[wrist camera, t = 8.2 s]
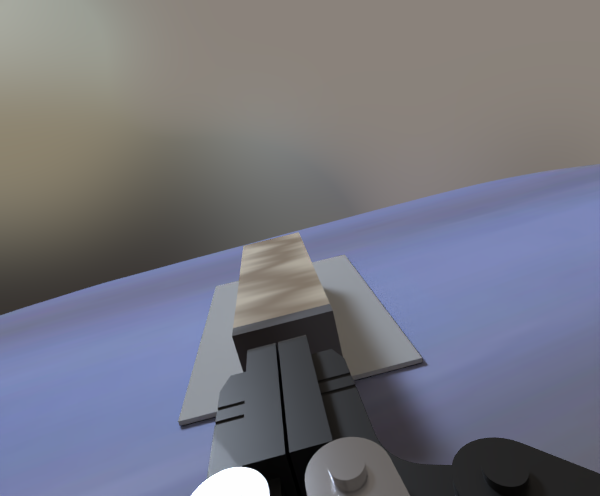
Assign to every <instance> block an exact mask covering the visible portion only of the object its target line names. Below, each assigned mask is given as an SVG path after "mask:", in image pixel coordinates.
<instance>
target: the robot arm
mask: <svg viewBox="0 0 600 496" xmlns="http://www.w3.org/2000/svg"><path fill="white" fill-rule="evenodd" d="M278 347H279V349H278ZM217 408H218V411H217V414H216V421H215V422H216V425H215V427H214V434H213V441H212V447H211V454H210V461H209V467H208V474H207V480H206V481H205V482H204V483H203V484H202V485H201V486H199V487H198V489H197V490H196V491H195V492H194V493H193V494H192V496H600V474H599V473H597V472H594V471H591V470H589V469H586V468H584V467H581V466H579V465H576V464H574V463H571V462H569V461H566V460H563V459H561V458H558V457H556V456H553V455H551V454H548V453H546V452H543V451H540V450H538V449H535V448H533V447H530V446H528V445H525V444H523V443H520V442H517V441H514V440H509V439H504V438H483V439H478V440H475V441H472V442H470V443H468V444H466V445H465V446H464V447H462V448H461V449H460V450H459V451H458V453H457V454H456V455H455V457H454V460H453V463H452V465H426V464H416V463H411V462H408V461H405V460H402V459H400V458H398V457H396V456H394V455H392V454H391V453H389V452H388V451H387V450H386V449H385V448H384V447H383V446H382V445H381V444H380V442H379V441H378V439H377V437H376V435H375V433H374V430H373V428H372V425H371V423H370V420H369V418H368V415H367V413H366V410H365V408H364V405H363V403H362V400H361V398H360V395H359V393H358V390H357V388H356V386H355V383H354V381H353V378H352V376H351V374H350V371H349V368H348V366H347V363H346V361H345V358H343V357H342V356H341V355H339V354H338V353H337V352H335V351H334V350H332V349H329V350H325V351H322V352H318V353H314V354H311V353H310V349H309V345H308V341H307V337H306V335H303V336H299V337H295V338H291V339H288V340H284V341H280V342H278V346H277V344H276V343H273V344H269V345H265V346H261V347H257V348H254V349H250V350H248V351H247V364H246V372H243V373H239V374H235V375H231V376H230V377H229V379H228V380H227V382H226V383H225V385H224V386H223V388H222V389H221V391H220V394H219V401H218V407H217Z"/></svg>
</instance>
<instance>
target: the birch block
mask: <svg viewBox="0 0 600 496" xmlns="http://www.w3.org/2000/svg"><path fill="white" fill-rule="evenodd" d="M303 335H306V337H307V341H308V345H309V349H310V353H311V354H314V353H318V352H322V351H325V350H329V349H332V350H334V351H335V352H337V353H338V354H339V355H341V356H342V357H343V355H342V350H341V346H340V341H339V336H338V332H337V327H336V323H335V318H334V313H333V310H332V307H331V305H330V303H329V301H328V298H327V296H326V294H325V292H324V289H323V287H322V285H321V282H320V280H319V278H318V276H317V273H316V271H315V269H314V266H313V264H312V262H311V260H310V257H309V255H308V253H307V251H306V248H305V246H304V244H303V241H302V239H301V237H300V235H299V233H295V234H291V235H286V236H282V237H278V238H274V239H270V240H266V241H262V242H258V243H254V244H250V245H246V246H243V254H242V262H241V269H240V277H239V285H238V293H237V300H236V308H235V316H234V324H233V332H232V338H233V341H234V345H235V348H236V351H237V354H238V357H239V361H240V364H241V367H242V370H243V372H246V364H247V351H248V350H250V349H254V348H257V347H261V346H265V345H269V344H273V343H276V344H277V346H278V342H280V341H284V340H288V339H291V338H295V337H299V336H303ZM278 349H279V347H278Z"/></svg>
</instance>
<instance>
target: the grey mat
mask: <svg viewBox="0 0 600 496" xmlns="http://www.w3.org/2000/svg"><path fill="white" fill-rule="evenodd" d="M312 264H313V266H314V269H315V271H316V273H317V276H318V278H319V280H320V282H321V285H322V287H323V289H324V292H325V294H326V296H327V298H328V301H329V303H330V305H331V307H332V310H333V313H334V318H335V323H336V327H337V332H338V336H339V341H340V346H341V350H342V355H343V358H345V361H346V363H347V366H348V368H349V371H350V374H351V376H352V378H353V380H357V379H361V378H365V377H368V376H372V375H376V374H380V373H384V372H387V371H391V370H395V369H399V368H403V367H406V366H410V365H414V364H418V363H422V362H423V361H422V357H421V356H420V355H419V353H418V352H417V351H416V349H415V348H414V347H413V345H412V344H411V343H410V341H409V340H408V339H407V337H406V336H405V335H404V333H403V332H402V331H401V329H400V328H399V327H398V325H397V324H396V323H395V321H394V320H393V319H392V317H391V316H390V315H389V313H388V312H387V311H386V309H385V308H384V307H383V305H382V304H381V303H380V301H379V300H378V299H377V297H376V296H375V295H374V293H373V292H372V291H371V289H370V288H369V287H368V285H367V284H366V283H365V281H364V280H363V279H362V277H361V276H360V275H359V273H358V272H357V271H356V269H355V268H354V267H353V265H352V264H351V263H350V261H349V260H348V259H347V257H346V256H345V255H341V256H337V257H333V258H329V259H325V260H321V261H316V262H312ZM238 285H239V281H236V282H232V283H228V284H224V285H220V286H216V288H215V292H214V296H213V299H212V303H211V306H210V310H209V313H208V317H207V321H206V324H205V328H204V331H203V335H202V338H201V342H200V346H199V349H198V353H197V356H196V360H195V363H194V367H193V371H192V374H191V378H190V381H189V385H188V388H187V392H186V396H185V399H184V403H183V406H182V410H181V413H180V417H179V421H178V422H179V425H180V426H181V425H185V424H189V423H193V422H197V421H201V420H204V419H208V418H212V417H216V414H217V411H218V408H217V407H218V401H219V394H220V391H221V389H222V388H223V386H224V385H225V383H226V382H227V380H228V379H229V377H230V376H231V375H235V374H239V373H243V370H242V367H241V364H240V361H239V357H238V354H237V351H236V348H235V345H234V341H233V338H232V332H233V324H234V316H235V308H236V300H237V293H238Z"/></svg>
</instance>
